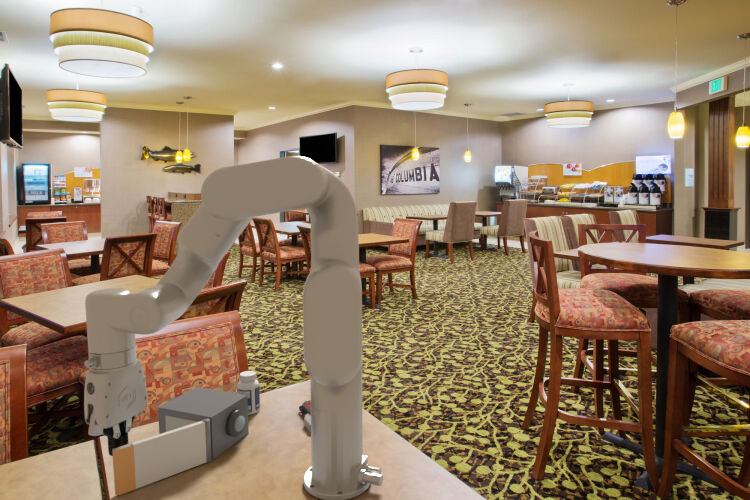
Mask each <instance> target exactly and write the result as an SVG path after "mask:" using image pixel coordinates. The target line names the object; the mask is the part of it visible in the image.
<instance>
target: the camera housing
mask: <svg viewBox="0 0 750 500" xmlns="http://www.w3.org/2000/svg"><path fill="white" fill-rule="evenodd" d="M157 415H158V433H159V434H162V433H165V432H168V431H171V430H174V429H178V428H181V427H184V426H187V425H190V424H193V423H196V422H200V421H203V419H210V434H211V459H212V461H213V460H215V459H216V458H217V457H219V456H220V455H222V454H223V453H224V452H226V451H227V450H229V449H230V448H231V447H232V446H234V445H235V444H236V443H238V442H239V441H241V439H244V437H246V436H247V435H249V415H248V399H247V395H243V394H237V393H236V392H231V391H226V390H225V391H223V390H218V389H212V388H207V387H201V386H196V387H194V388H192V389H190V390H188V391H186V392H185V393H183V394H181V395H179V396H177V397H175V398H173V399H171V400H170V401H167V402H165V403H163V404H161V405H159V406H158V407H157ZM159 434H158V435H159Z"/></svg>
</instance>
